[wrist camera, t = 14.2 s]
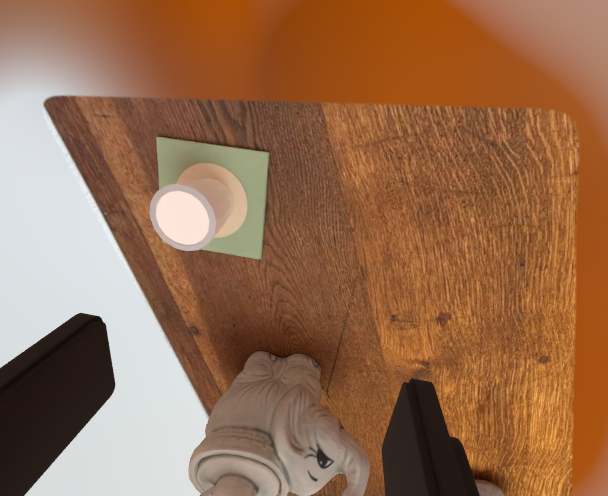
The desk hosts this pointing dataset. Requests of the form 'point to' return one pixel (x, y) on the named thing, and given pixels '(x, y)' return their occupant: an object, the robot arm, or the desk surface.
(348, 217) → the desk surface
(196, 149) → the mat
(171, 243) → the shot glass
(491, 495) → the fossil
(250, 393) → the teapot
